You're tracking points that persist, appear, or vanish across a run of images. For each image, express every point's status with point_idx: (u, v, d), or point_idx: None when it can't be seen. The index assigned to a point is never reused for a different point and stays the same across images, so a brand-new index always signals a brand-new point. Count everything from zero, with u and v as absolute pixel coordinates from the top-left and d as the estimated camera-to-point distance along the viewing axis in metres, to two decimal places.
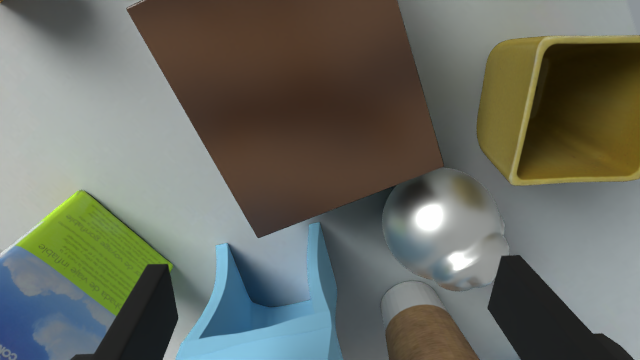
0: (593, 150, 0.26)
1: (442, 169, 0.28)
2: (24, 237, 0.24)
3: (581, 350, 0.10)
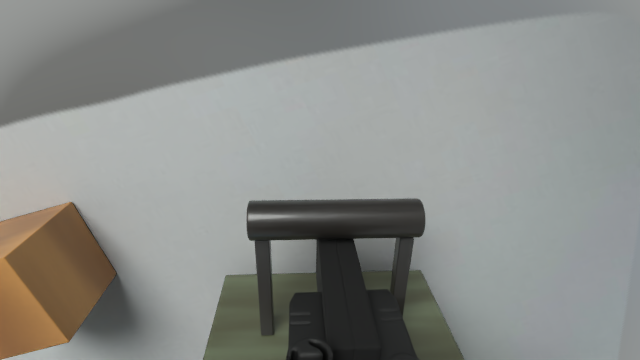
0: None
1: None
2: None
3: (345, 298, 0.12)
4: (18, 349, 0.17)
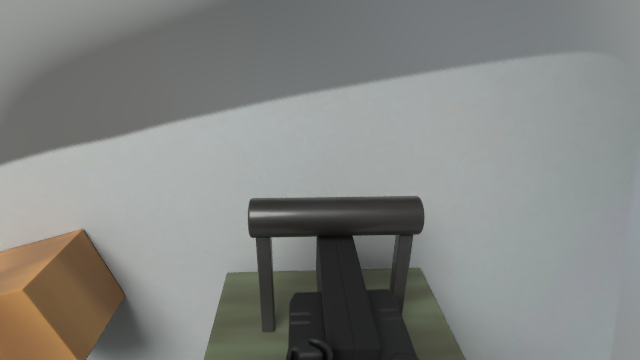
0: None
1: None
2: None
3: (345, 298, 0.12)
4: None
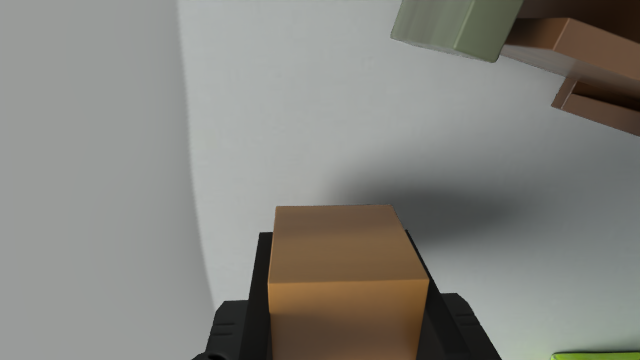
0: None
1: None
2: None
3: None
4: (410, 336, 0.12)
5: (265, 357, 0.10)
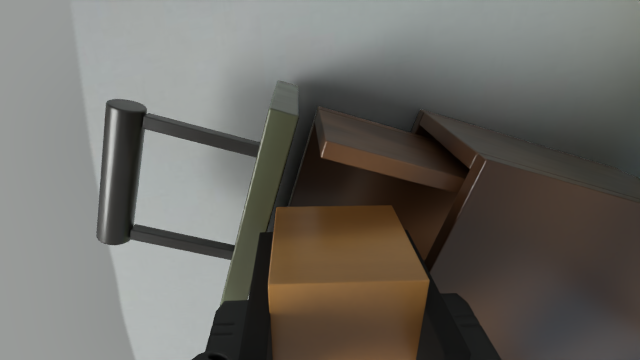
0: None
1: None
2: None
3: None
4: (410, 337, 0.12)
5: (265, 357, 0.10)
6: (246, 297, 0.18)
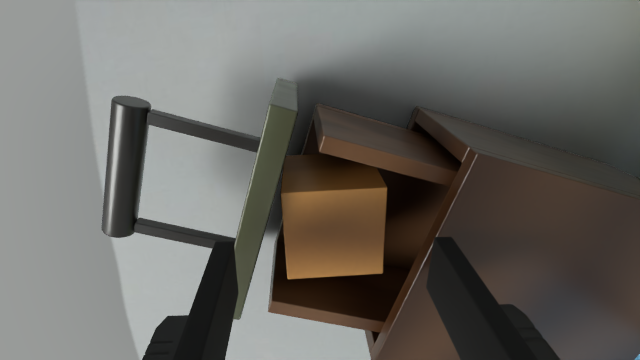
0: None
1: None
2: None
3: (482, 315, 0.12)
4: (378, 231, 0.18)
5: None
6: (247, 288, 0.18)
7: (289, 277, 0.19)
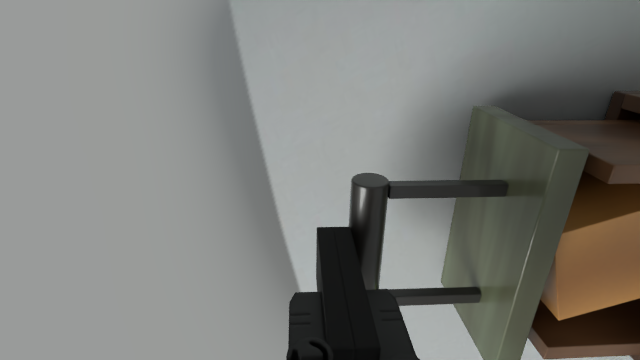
0: None
1: None
2: None
3: (345, 298, 0.12)
4: None
5: (353, 344, 0.10)
6: (525, 341, 0.17)
7: (561, 318, 0.17)
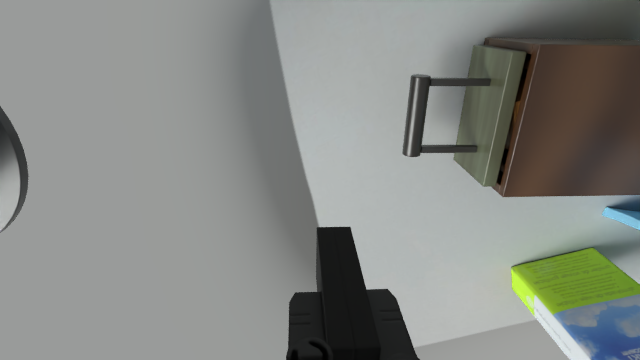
0: None
1: None
2: (547, 308, 0.40)
3: (345, 298, 0.12)
4: None
5: (353, 344, 0.10)
6: (500, 163, 0.32)
7: None
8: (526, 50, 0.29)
